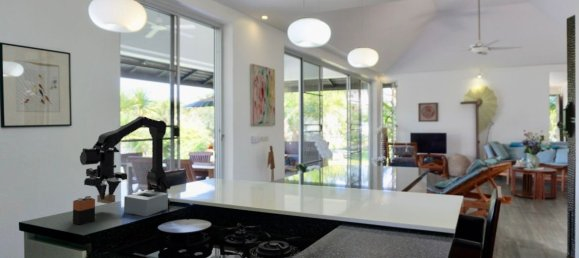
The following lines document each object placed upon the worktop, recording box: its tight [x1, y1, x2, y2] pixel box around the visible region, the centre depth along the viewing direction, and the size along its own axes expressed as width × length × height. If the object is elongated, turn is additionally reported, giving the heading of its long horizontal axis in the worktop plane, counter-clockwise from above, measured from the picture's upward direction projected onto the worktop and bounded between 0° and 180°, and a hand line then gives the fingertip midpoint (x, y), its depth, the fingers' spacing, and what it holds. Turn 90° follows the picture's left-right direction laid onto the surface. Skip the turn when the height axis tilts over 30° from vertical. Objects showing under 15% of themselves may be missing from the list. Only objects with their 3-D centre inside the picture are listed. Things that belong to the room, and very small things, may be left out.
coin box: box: [123, 189, 169, 217], centre depth 173 cm, size 14×12×7 cm
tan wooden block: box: [96, 193, 116, 205], centre depth 169 cm, size 4×6×3 cm, turn 71°
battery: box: [72, 195, 96, 225], centre depth 153 cm, size 4×7×10 cm, turn 154°
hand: (106, 198), depth 169 cm, fingers closed on tan wooden block, 4 cm apart
